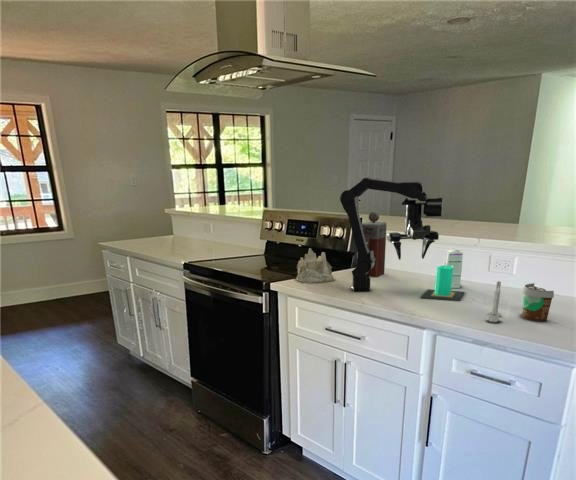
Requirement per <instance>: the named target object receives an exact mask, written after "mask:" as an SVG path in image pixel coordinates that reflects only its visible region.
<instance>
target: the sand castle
mask: <svg viewBox="0 0 576 480" xmlns="http://www.w3.org/2000/svg"><path fill="white" fill-rule="evenodd" d="M307 251H308V252H307V253H305V254H304V257H300V260H298V262H297V265H296V269H297V275H296V281H298V282H301V283H303V284H315V283H316V284H317V283H318V284H319V283H328V282H332V281H334V280H335V279H334V275H333V271H332V268H333V267H332V266H331V264H330V263H329V262H328V260H327V256H326V255H327V254H326V252H324V251H322V252H321V253H320V255H318V256H317V254H316V252H314V251H313V250H312V248H310V247H309V248H308V250H307Z"/></svg>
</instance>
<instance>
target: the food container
mask: <svg viewBox="0 0 576 480" xmlns="http://www.w3.org/2000/svg"><path fill="white" fill-rule="evenodd" d="M521 293H522V294H523V300H522V314H521V317H522V318H523V319H525V320H528V321H532V322H547V321H548V317H549V313H550V309H551V304H552V301H553V298H555V291H554V290H546V289H545V288H543V287H537V286H535V283H533V282H532V283H526V284H525V285H524V286H523V288H522V290H521Z"/></svg>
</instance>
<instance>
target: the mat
mask: <svg viewBox="0 0 576 480" xmlns="http://www.w3.org/2000/svg"><path fill="white" fill-rule="evenodd" d="M464 294H465V291H458V290H451V295H449V296H438V295H435V289H430V288H429V289H427V290H426V291H425V292H424V293H423V294H422V296H421V297H420V299H425V300H439V301H440V300H441V301H454V302H460V301H461V299H462V297H463V295H464Z"/></svg>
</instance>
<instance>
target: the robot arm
mask: <svg viewBox="0 0 576 480" xmlns="http://www.w3.org/2000/svg"><path fill="white" fill-rule="evenodd" d="M368 190H373V191H381V192H388V193H395V194H399V195H401V196H403V197H406V198H405V199H404V201H402V202H401V205H402V206H406V212H405V213H406V214H405V220H404V223H405V230H404V233H400V232H395V231H394V232H388V233H386V241H388V242H389V243H391V244H393V246H394V249H395V252H396V255H397V258H398V260H399V261H401V260H402V247H401V246H402V242H401V240H414V241H416V240H420V241H421V240H422V244H421V245H422V246H421V259H422V260H423V259H425V256H426V254H427V252H428V249H429V248H430V246H431V245H432V244H433V243H435V242H436V241H437V240H440V239H439V237H440V235H439V232H438V231H436V230H431V229H432V228H431V227H432V226H431V225H430V224H426V225H423V220H422V215H425V217H426V218H442V217H443V211H444V206H443V204H444V203H443V202H444V197H436V198H435V197H434V198H433V197H431V198H430V197H429V196H428V195H427V193H426V192H425V186H424V184H423V183H422V182H421V181H401V182H399V181H392V180H385V179H378V178H371V177H363V178H362V179H361V181H360V182H358V183H356V185H354V186H353V187H351V188H350V189H346V190H344V191H342V192H341V193H340V196H339V201H340V203H341V207H342V208H343V210H344V212H345V213H346V215H347V217H348V221H349V225H350V228H351V232H352V233H351V234H352V236H353V240H354V244H355V248H356V263H357V266H356V267H355V268H354V269H353V270H351V274H352V284H351V289H352V291H353V292H369V291H370V290H371V278H370V277H369V274H367V273H369V271H370V270H371V269H372V268H373V266H374V264H375V260H376V259H375V258H374V252H373V250H372V251H369V249H368V247H367V244H366V240H365V236H364V232H363V228H362V220H361V216H360V212H359V208H360V207H359V206H360V204H359V201H360V200H359V198H360V197H361V196H362V195H363V194H364V193H366V191H368ZM409 198H411V199H409ZM417 200H418V201H419V202H418V201H417Z"/></svg>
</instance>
